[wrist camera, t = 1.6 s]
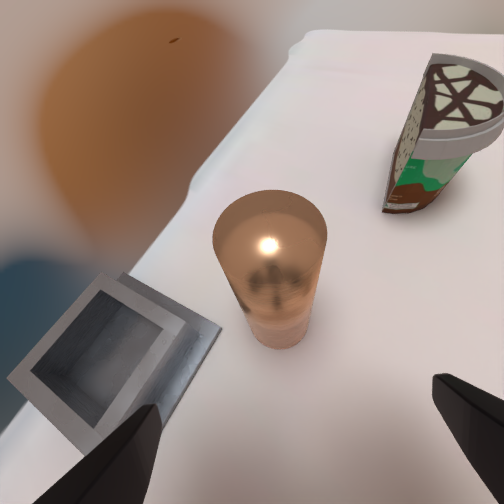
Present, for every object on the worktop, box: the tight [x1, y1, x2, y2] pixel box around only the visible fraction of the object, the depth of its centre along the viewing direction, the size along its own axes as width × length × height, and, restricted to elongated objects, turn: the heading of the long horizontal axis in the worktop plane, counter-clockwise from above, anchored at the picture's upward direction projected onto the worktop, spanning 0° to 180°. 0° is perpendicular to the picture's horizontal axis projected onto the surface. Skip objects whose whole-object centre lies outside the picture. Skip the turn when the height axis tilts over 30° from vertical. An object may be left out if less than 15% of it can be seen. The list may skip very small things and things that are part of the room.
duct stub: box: [7, 272, 222, 456], centre depth 20 cm, size 12×12×4 cm
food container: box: [382, 53, 504, 214], centre depth 24 cm, size 12×6×10 cm, turn 158°
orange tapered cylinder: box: [213, 190, 327, 349], centre depth 17 cm, size 5×5×13 cm
